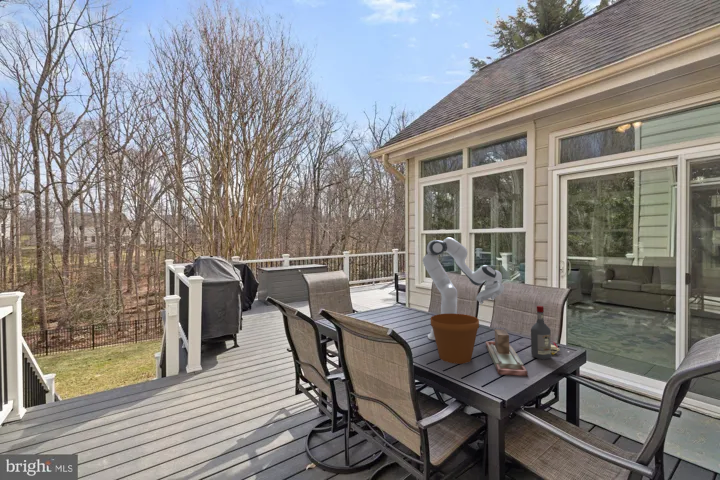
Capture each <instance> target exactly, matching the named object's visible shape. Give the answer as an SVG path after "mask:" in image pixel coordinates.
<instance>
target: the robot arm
mask: <svg viewBox="0 0 720 480" xmlns="http://www.w3.org/2000/svg"><path fill="white" fill-rule="evenodd" d="M425 251H426V254H425V255H424V256H423V257H422V262H423V263H422V264H423V266H424V268H425V270H426V272H427V274H428V275H429V277H430V278H431V280H432V282H433V283H434V285H435V286H436V288H437V290H438V291H439V293H440V295H441V296H440V297H441V300H440V301H441V302H440V303H441V304H440V314H458V313H457V312H458V310H457V309H458V289H457V287H455V286H454V285H455V284H453V282H452V281H451V279H450V277H449V275H448V273H447V272H446V269H445V268H444V266H443V265H442V264H441V262H440V260H439V259H438V257H439V255H442V254H443V253H447V254H448V255H449V256H451V258H453V259H454V263H455V265H456V266H457V268H458V269H459V270H460V271H461V272H462V273H463V274H464V275H465V276H466V277H467V279H468V280H469V281H470V282H471V284H473V286H477V287H478V286H479V287H480V286H482V285H483V284H484V283H485V282H486V283H485V285H484V290H481V291H480V292H479V293H477V296H476V297H475V300H477V302H479V303H480V305H482V304H484V301H486V300H489V299H491V300H495V298H497V296H499V295H501V294H503V293H504V290H505V287H506V286H504V284H503V283H502V280H503V275H502V273H501V272H500V271H499V270H497V269H494V268H493V266H490V265H487V264H484V265H482V266H480V267H479V268H478V269H477V270H475V271H474V270H472V269H471V268H470V267H469V266H468V265H467V264H466V259H467V256H468V250H467V247H465V246H464V245H463V243H460V242H459V241H457V240H456V239H454V238H453V237H448V236H447V237H446V238H444V239H443V240H437V239H433V240H430V241H428V243H427V244H426V250H425ZM427 339H429V340H433V341H436V340H435V336H434V332H433V328H432V327H431V330H430V333H428V334H427Z"/></svg>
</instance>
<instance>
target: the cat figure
mask: <svg viewBox="0 0 720 480" xmlns="http://www.w3.org/2000/svg"><path fill="white" fill-rule="evenodd" d="M552 343H553V344H552ZM552 343H551V355H555V354H557V353H558V352H559V351H560V352H561V350H560V348H559V347H558V345H557V343H555V341H552Z"/></svg>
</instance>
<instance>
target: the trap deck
mask: <svg viewBox="0 0 720 480" xmlns="http://www.w3.org/2000/svg"><path fill="white" fill-rule="evenodd" d="M485 346H486V348H487V351H488V353H489V356H490V357H491V360H492V363H493V364H494V367H495V369H496V371H497V374H498V375H503V376H504V375H505V376H520V377H528V370H527V368H526V367H525V366H524V363H523V362H522V360H521V358H520V357H519V355H518V354H517V352H516V351H515V349H514V348H513V346H511V344H510V343H509V354H503V353H498V351H497V349H496V347H495V341H492V340H491V341H490V340H489V341H487V340H486V341H485Z"/></svg>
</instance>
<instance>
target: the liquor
mask: <svg viewBox="0 0 720 480" xmlns="http://www.w3.org/2000/svg"><path fill="white" fill-rule="evenodd" d="M544 310H545V307H544V306H543V305H536V322H535V323H534V324H533V325H532V326H531V329H530V346H531V347H530V348H531V350H530V351H531V353H530V354H531V356H532V357H534V358H536V359H538V360H548V359H551V357H552V354H551V344H552V340H551V339H552V337H551V336H552V335H551V333H552V332H551V331H552V330H551V328H550V327H549V326H548V325H547V324H546V323H545V320H544Z"/></svg>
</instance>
